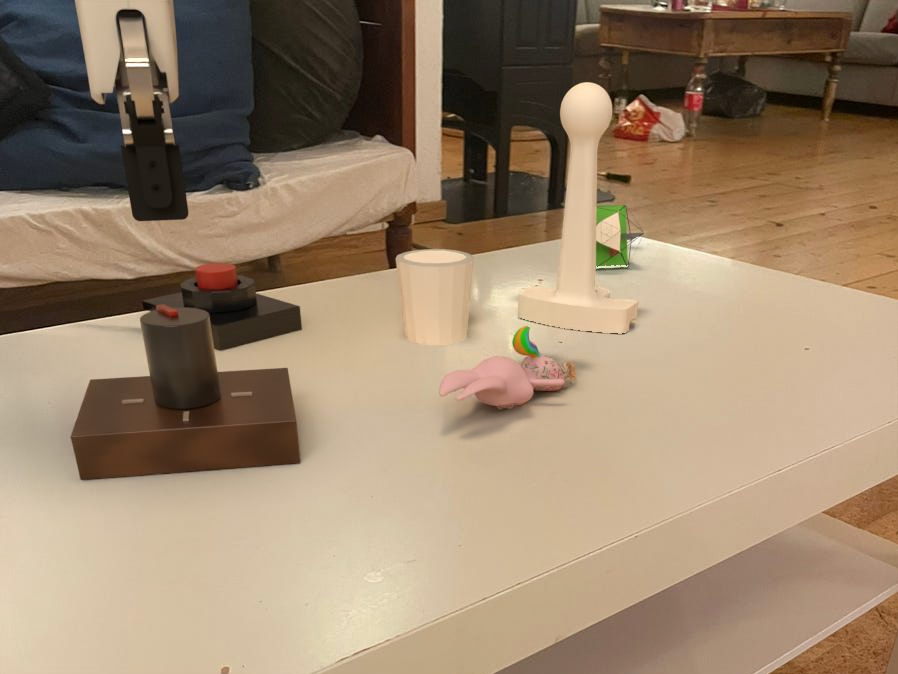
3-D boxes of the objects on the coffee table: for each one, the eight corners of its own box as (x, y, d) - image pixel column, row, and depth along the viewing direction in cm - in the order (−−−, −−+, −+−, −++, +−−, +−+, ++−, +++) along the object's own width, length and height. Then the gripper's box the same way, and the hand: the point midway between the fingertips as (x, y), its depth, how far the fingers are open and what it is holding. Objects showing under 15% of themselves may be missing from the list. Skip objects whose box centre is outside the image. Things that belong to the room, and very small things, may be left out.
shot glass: (441, 352, 86) (440, 269, 82) (382, 338, 89) (379, 257, 86) (488, 334, 91) (489, 254, 87) (431, 321, 94) (429, 244, 90)
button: (190, 287, 90) (186, 267, 89) (223, 280, 92) (220, 261, 91) (212, 294, 88) (210, 274, 87) (246, 287, 90) (243, 267, 89)
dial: (232, 399, 67) (220, 313, 64) (172, 414, 65) (156, 325, 62) (202, 383, 70) (190, 299, 67) (143, 396, 68) (127, 310, 64)
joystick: (511, 320, 95) (517, 81, 84) (545, 302, 100) (554, 75, 89) (619, 337, 90) (640, 87, 79) (648, 317, 96) (672, 81, 85)
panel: (80, 480, 63) (69, 433, 62) (98, 419, 72) (89, 377, 71) (300, 463, 66) (296, 417, 64) (291, 406, 75) (287, 365, 73)
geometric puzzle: (566, 238, 116) (581, 186, 108) (622, 236, 117) (641, 184, 109) (578, 288, 113) (595, 238, 106) (635, 285, 114) (655, 236, 107)
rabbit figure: (524, 389, 82) (412, 411, 71) (533, 314, 80) (418, 325, 68) (589, 405, 79) (483, 431, 68) (601, 328, 77) (492, 342, 65)
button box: (145, 324, 93) (138, 280, 90) (226, 306, 98) (220, 264, 96) (220, 351, 86) (214, 304, 84) (302, 330, 91) (298, 285, 89)
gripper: (42, -128, 59) (99, 183, 68) (17, -160, 45) (93, 235, 55) (172, -123, 61) (210, 180, 70) (186, -152, 47) (231, 229, 57)
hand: (159, 204), depth 63 cm, fingers open, 9 cm apart
